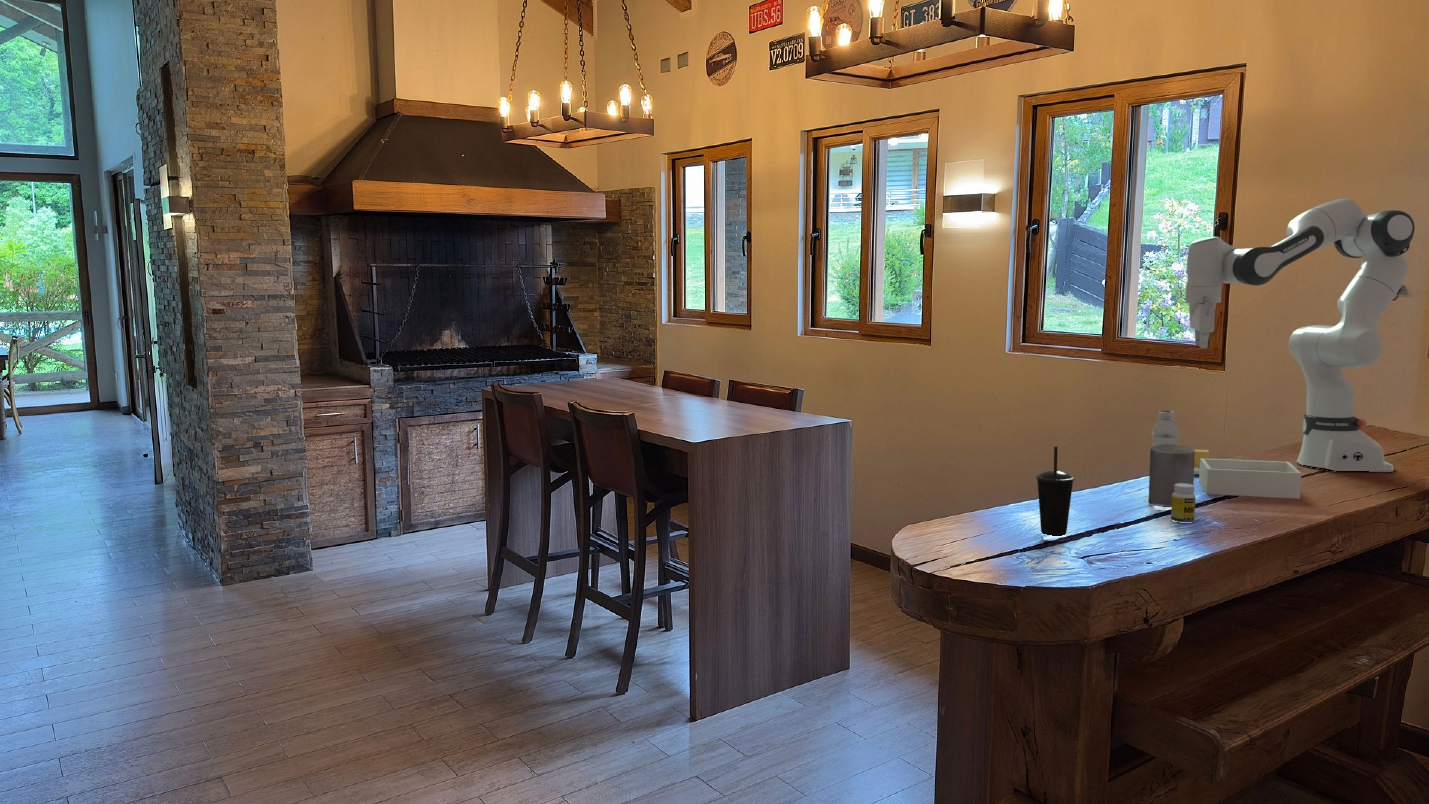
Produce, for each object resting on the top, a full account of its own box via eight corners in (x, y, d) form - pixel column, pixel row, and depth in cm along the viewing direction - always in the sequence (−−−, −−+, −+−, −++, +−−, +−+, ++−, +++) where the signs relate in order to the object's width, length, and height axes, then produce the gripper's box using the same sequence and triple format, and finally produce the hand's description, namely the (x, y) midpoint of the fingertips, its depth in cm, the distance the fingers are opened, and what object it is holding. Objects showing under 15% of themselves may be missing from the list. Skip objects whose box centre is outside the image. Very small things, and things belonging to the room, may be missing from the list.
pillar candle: (1152, 497, 235) (1154, 438, 233) (1196, 502, 229) (1198, 441, 227) (1144, 506, 227) (1146, 445, 225) (1189, 511, 221) (1191, 448, 219)
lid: (1270, 471, 260) (1272, 448, 259) (1282, 483, 246) (1284, 458, 246) (1185, 468, 268) (1186, 445, 267) (1192, 479, 254) (1193, 455, 253)
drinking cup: (1068, 546, 197) (1070, 451, 194) (1030, 541, 201) (1032, 448, 198) (1076, 537, 203) (1078, 445, 200) (1039, 532, 207) (1041, 442, 204)
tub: (1287, 488, 240) (1288, 461, 240) (1299, 501, 227) (1301, 473, 226) (1199, 484, 247) (1200, 458, 246) (1206, 497, 234) (1207, 469, 233)
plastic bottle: (1171, 485, 248) (1174, 409, 245) (1181, 491, 241) (1184, 413, 238) (1145, 485, 248) (1148, 409, 246) (1154, 491, 242) (1157, 413, 239)
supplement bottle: (1185, 525, 210) (1186, 488, 209) (1166, 520, 214) (1167, 484, 213) (1199, 522, 212) (1200, 485, 211) (1180, 517, 216) (1181, 481, 215)
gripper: (1221, 297, 252) (1219, 349, 254) (1210, 295, 271) (1208, 343, 273) (1195, 298, 254) (1193, 349, 256) (1186, 295, 273) (1184, 343, 275)
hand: (1201, 346), depth 264 cm, fingers open, 8 cm apart
